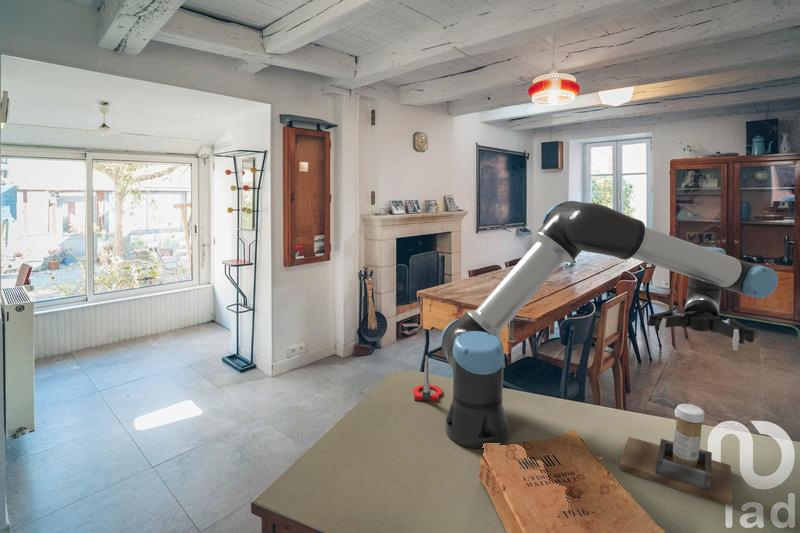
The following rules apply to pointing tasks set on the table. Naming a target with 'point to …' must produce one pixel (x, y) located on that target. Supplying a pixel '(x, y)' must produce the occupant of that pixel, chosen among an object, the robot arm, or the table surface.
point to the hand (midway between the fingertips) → (696, 337)
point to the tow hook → (427, 388)
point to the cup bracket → (678, 469)
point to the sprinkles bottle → (687, 435)
